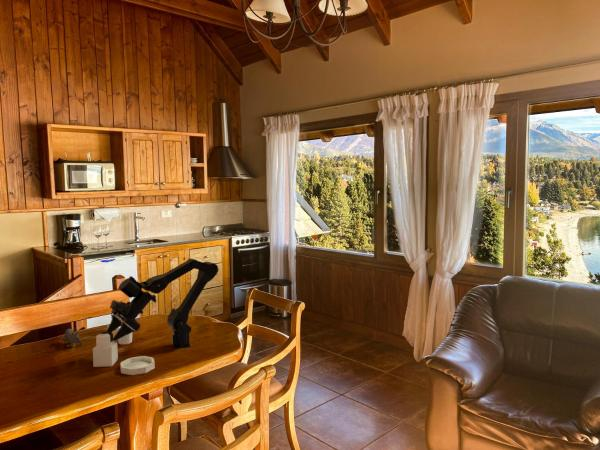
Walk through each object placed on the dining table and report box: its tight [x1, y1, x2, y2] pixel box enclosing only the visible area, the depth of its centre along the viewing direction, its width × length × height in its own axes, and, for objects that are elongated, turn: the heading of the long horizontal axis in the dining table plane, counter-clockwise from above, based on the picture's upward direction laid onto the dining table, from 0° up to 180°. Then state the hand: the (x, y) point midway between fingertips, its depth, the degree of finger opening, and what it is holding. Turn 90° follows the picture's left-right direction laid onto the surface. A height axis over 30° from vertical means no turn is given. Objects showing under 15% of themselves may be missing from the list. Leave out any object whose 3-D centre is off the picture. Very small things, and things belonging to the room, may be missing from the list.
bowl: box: [120, 355, 156, 376], centre depth 173 cm, size 12×12×2 cm
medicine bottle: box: [92, 331, 119, 368], centre depth 177 cm, size 7×7×12 cm
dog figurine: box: [59, 328, 83, 348], centre depth 198 cm, size 12×6×7 cm, turn 49°
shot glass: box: [116, 326, 133, 345], centre depth 200 cm, size 7×7×7 cm
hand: (110, 337), depth 178 cm, fingers open, 9 cm apart
